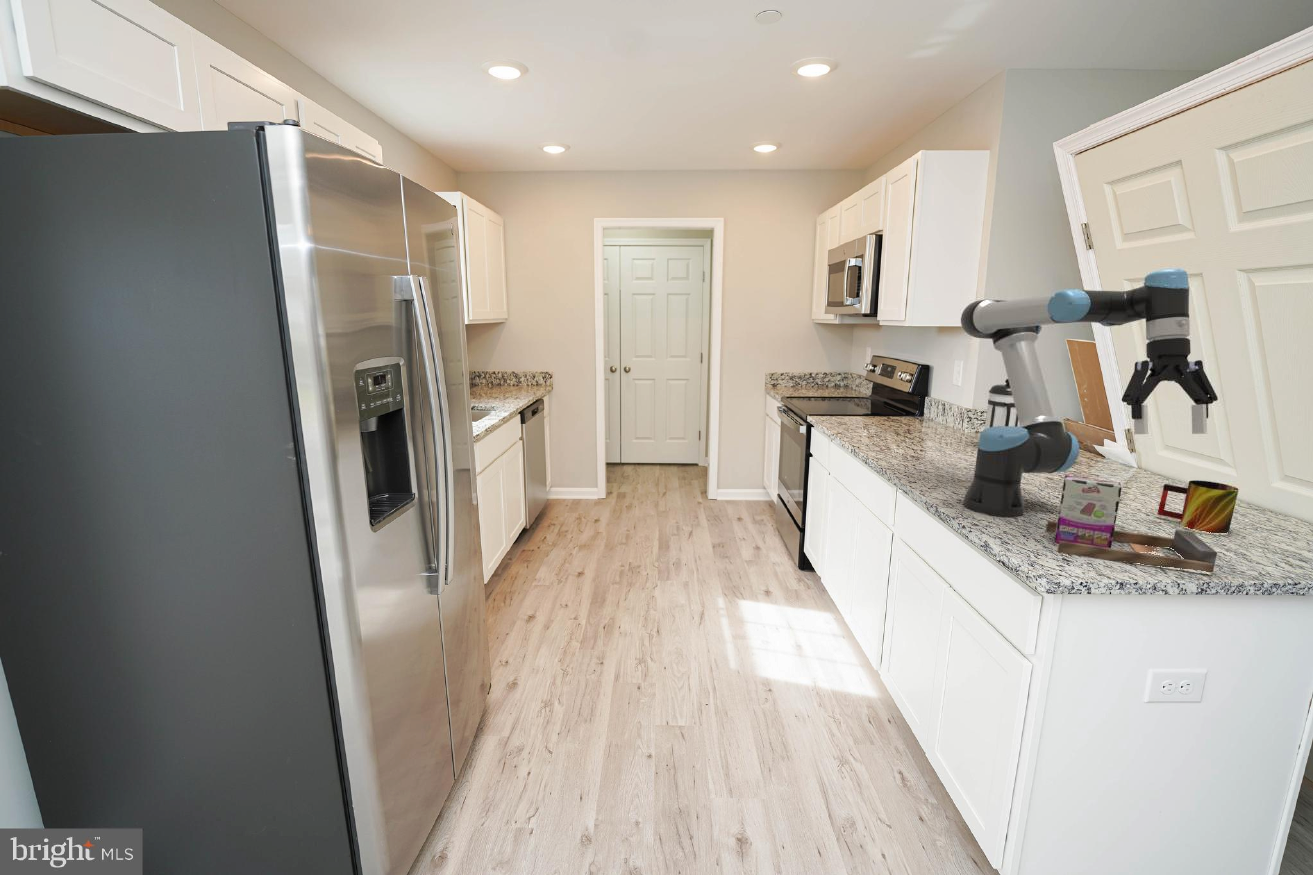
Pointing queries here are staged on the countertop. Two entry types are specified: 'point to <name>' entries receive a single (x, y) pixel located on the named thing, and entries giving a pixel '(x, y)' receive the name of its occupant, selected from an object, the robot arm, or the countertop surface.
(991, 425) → the coffee press
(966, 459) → the countertop surface
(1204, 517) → the mug
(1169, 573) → the countertop surface
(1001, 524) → the countertop surface
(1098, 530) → the candy bar box
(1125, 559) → the guide channel
